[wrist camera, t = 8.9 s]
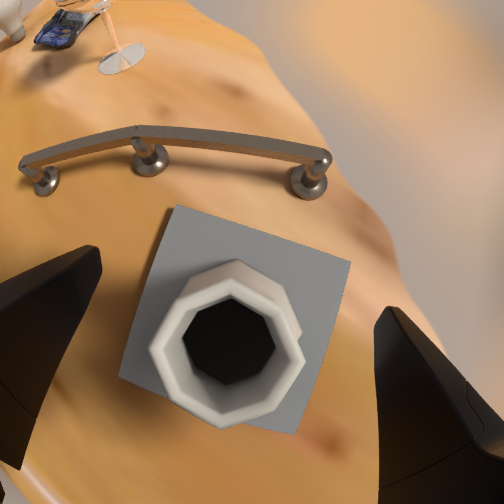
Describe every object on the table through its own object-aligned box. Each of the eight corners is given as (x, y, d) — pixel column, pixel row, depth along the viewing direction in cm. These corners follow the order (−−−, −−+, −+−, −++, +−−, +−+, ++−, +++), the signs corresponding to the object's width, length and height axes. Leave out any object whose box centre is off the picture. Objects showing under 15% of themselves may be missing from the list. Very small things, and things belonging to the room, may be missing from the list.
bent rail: (326, 201, 18) (346, 176, 14) (34, 197, 17) (6, 179, 13) (322, 154, 19) (339, 122, 15) (46, 157, 18) (22, 134, 14)
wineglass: (96, 91, 19) (45, -9, 7) (85, 60, 20) (47, -23, 8) (164, 57, 20) (141, -52, 8) (143, 30, 21) (121, -57, 9)
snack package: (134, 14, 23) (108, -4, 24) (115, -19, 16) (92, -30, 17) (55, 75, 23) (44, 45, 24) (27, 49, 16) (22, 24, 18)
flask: (143, 317, 15) (29, 320, 5) (240, 237, 16) (245, 135, 7) (226, 413, 14) (216, 529, 4) (323, 332, 15) (433, 355, 6)
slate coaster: (292, 429, 15) (294, 434, 14) (122, 374, 15) (117, 376, 14) (346, 263, 17) (351, 261, 16) (178, 208, 17) (176, 204, 17)
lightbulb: (43, 23, 23) (21, -21, 12) (21, 47, 21) (-6, 2, 11) (22, 31, 23) (0, -8, 12) (1, 55, 21) (-26, 16, 11)
